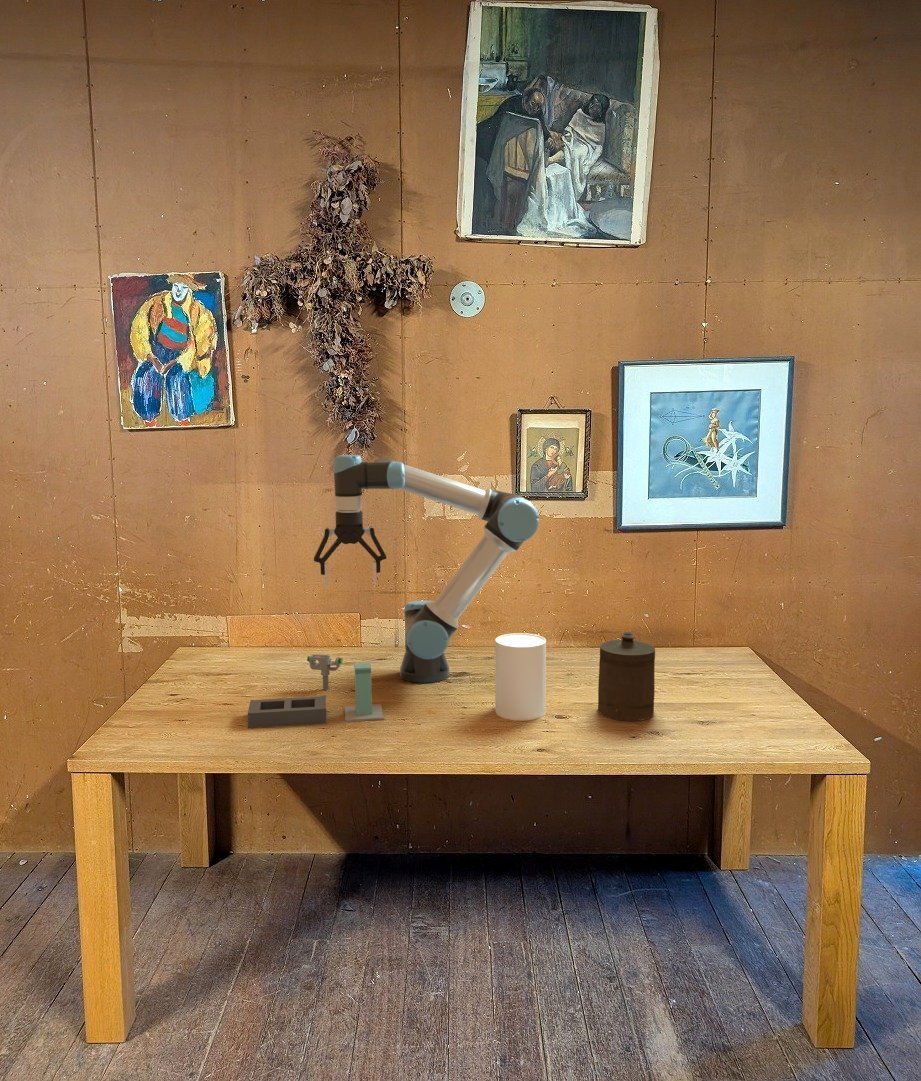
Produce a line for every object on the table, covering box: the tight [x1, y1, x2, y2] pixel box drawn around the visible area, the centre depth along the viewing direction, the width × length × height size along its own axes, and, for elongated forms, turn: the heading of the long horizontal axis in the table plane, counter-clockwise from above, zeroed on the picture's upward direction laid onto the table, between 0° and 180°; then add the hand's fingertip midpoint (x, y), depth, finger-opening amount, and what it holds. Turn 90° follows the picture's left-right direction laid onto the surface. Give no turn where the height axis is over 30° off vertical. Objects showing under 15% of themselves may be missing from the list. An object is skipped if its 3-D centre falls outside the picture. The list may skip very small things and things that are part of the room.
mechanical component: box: [306, 653, 343, 691], centre depth 257 cm, size 3×10×10 cm, turn 79°
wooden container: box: [597, 631, 656, 722], centre depth 237 cm, size 15×15×22 cm
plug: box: [353, 662, 373, 715], centre depth 236 cm, size 4×4×13 cm
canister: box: [494, 632, 547, 722], centre depth 237 cm, size 14×14×20 cm
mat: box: [344, 704, 385, 723], centre depth 238 cm, size 10×10×1 cm
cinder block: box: [247, 695, 327, 729], centre depth 234 cm, size 20×10×4 cm, turn 99°
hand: (350, 585), depth 249 cm, fingers open, 13 cm apart
